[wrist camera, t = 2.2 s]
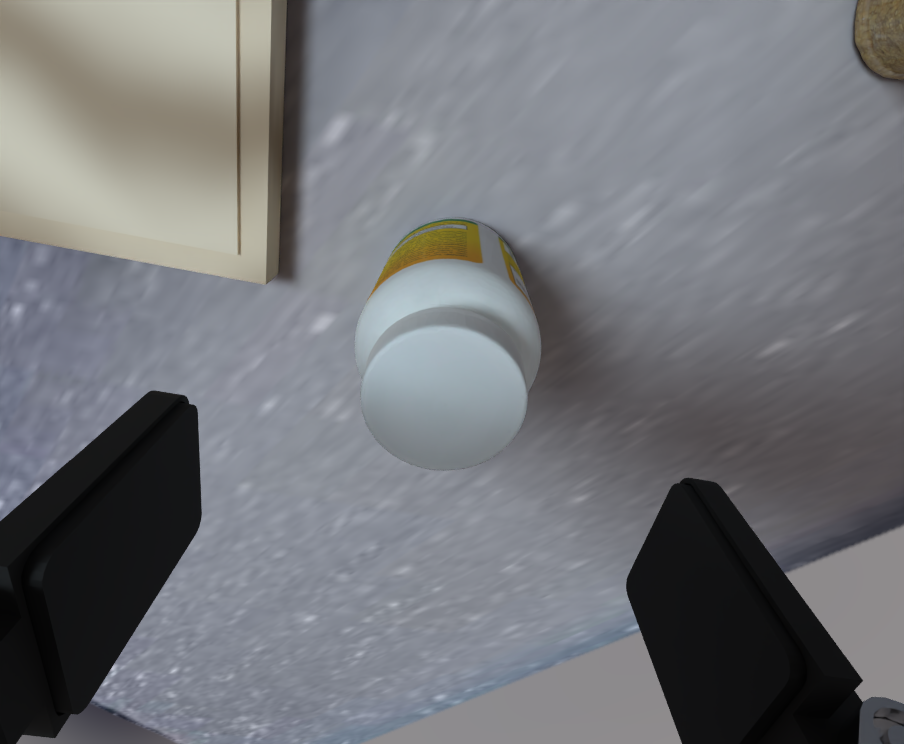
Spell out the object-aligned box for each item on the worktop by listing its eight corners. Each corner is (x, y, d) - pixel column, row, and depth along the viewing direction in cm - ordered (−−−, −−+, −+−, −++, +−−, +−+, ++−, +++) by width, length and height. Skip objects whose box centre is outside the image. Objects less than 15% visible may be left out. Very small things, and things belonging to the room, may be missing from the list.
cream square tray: (-141, -219, 14) (-211, -257, 13) (290, -113, 15) (272, -137, 13) (-33, 215, 20) (-72, 223, 18) (278, 273, 20) (264, 285, 19)
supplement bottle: (544, 260, 20) (608, 372, 11) (472, 363, 22) (481, 523, 14) (426, 185, 19) (398, 250, 10) (362, 303, 21) (295, 437, 12)
